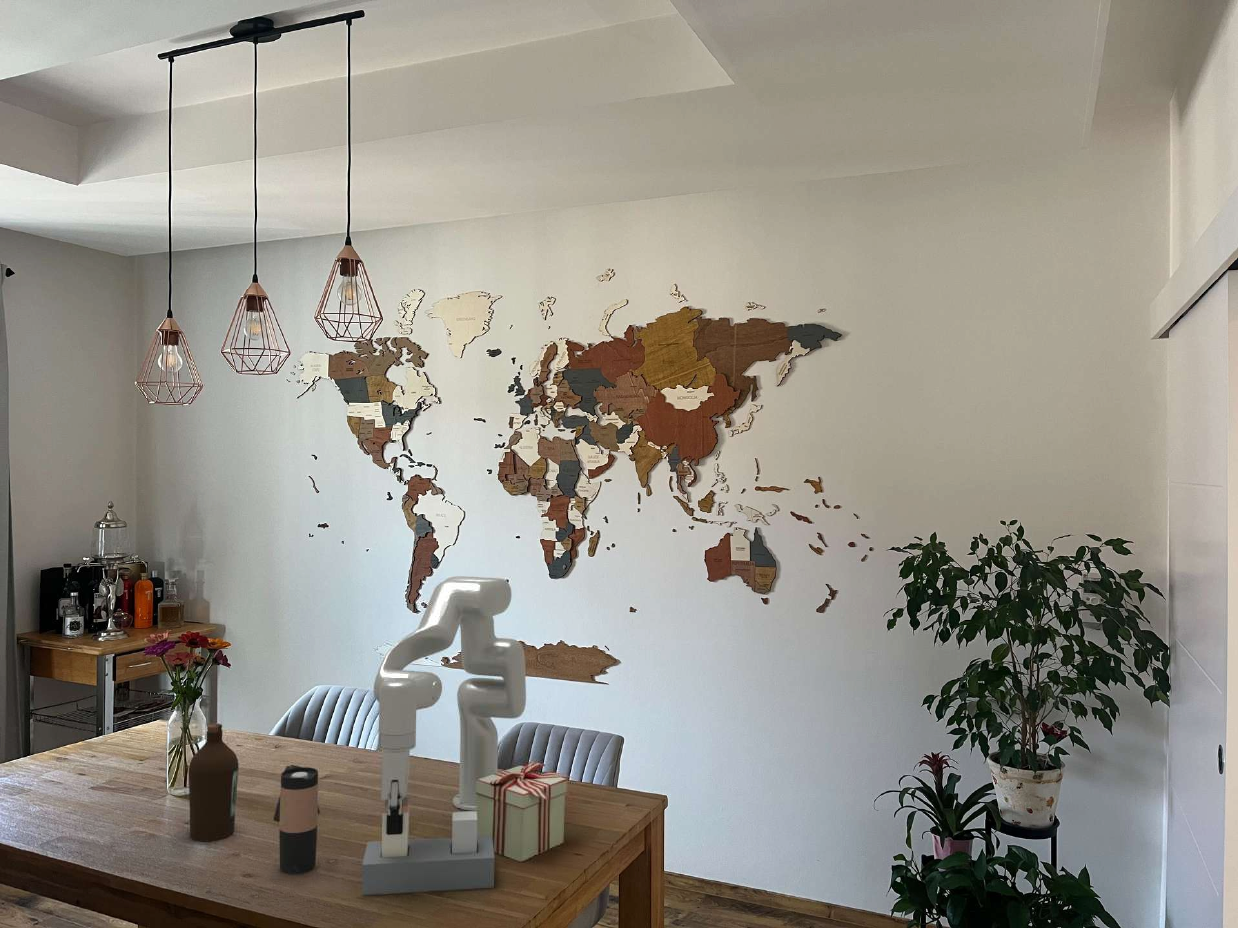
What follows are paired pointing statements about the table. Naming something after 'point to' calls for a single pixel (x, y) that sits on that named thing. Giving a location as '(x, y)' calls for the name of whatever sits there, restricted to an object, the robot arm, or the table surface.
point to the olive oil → (213, 788)
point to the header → (433, 862)
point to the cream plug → (399, 842)
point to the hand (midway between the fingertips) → (395, 827)
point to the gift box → (522, 810)
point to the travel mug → (298, 820)
